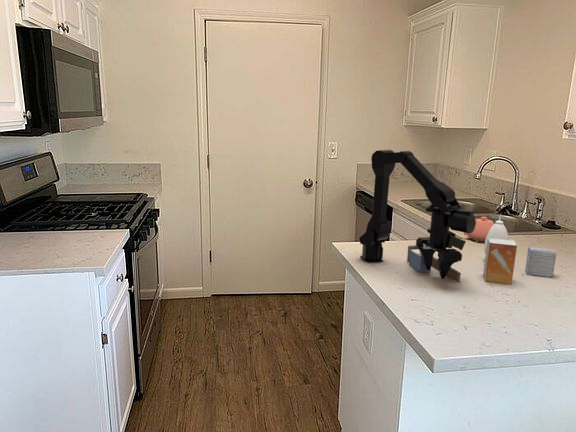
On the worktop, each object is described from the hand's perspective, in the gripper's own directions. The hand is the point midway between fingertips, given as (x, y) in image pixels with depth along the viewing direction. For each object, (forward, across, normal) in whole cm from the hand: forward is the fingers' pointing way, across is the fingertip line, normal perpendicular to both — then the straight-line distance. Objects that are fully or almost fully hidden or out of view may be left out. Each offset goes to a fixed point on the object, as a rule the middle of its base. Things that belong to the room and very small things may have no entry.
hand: (435, 274), depth 151 cm
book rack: (+2, +7, -3) cm, 8 cm away
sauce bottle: (+2, +13, -31) cm, 34 cm away
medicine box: (+2, -1, -38) cm, 38 cm away
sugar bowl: (+2, +42, -44) cm, 61 cm away
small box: (+2, -4, -20) cm, 20 cm away
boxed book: (+2, +11, 0) cm, 11 cm away
